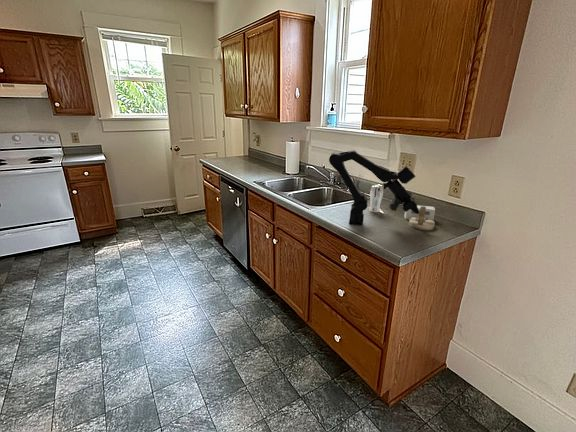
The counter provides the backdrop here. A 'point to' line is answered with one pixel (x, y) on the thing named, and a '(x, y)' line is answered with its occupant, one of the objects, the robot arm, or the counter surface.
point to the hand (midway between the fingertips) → (418, 213)
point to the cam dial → (421, 221)
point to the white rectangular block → (428, 212)
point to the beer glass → (375, 197)
